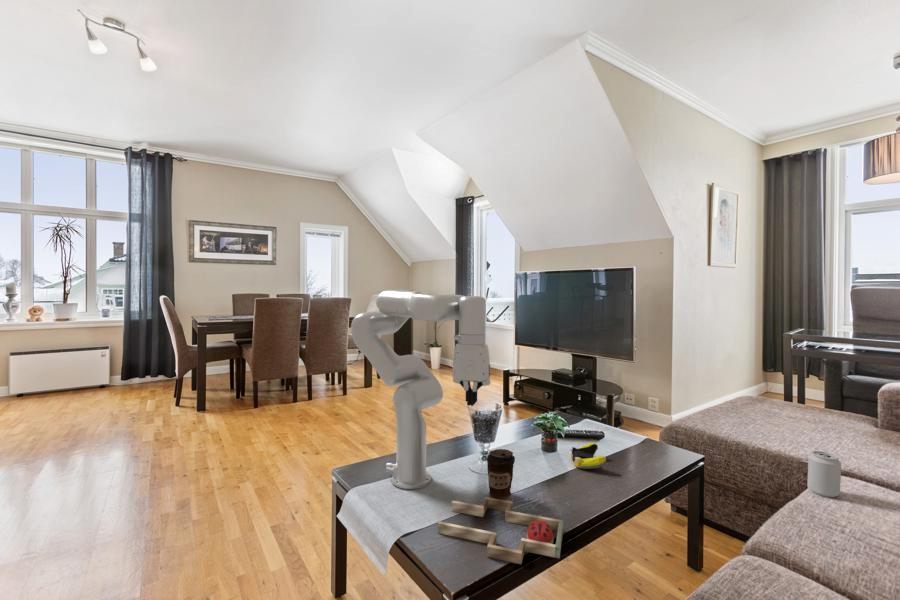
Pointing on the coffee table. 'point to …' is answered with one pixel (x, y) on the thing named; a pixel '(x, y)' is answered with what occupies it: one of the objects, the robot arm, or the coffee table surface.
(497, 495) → the coffee cup
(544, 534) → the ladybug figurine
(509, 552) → the trap channel
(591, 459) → the banana bunch
